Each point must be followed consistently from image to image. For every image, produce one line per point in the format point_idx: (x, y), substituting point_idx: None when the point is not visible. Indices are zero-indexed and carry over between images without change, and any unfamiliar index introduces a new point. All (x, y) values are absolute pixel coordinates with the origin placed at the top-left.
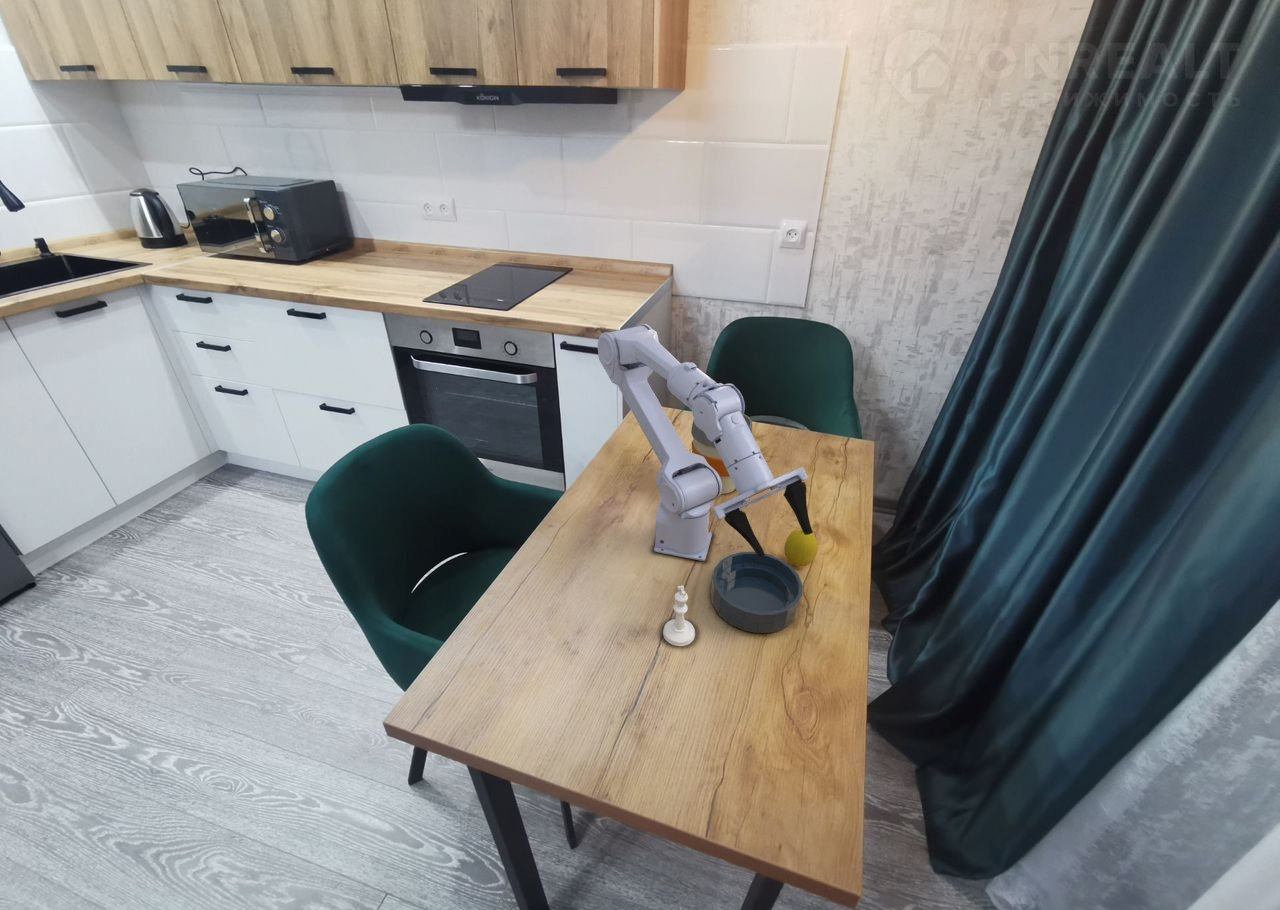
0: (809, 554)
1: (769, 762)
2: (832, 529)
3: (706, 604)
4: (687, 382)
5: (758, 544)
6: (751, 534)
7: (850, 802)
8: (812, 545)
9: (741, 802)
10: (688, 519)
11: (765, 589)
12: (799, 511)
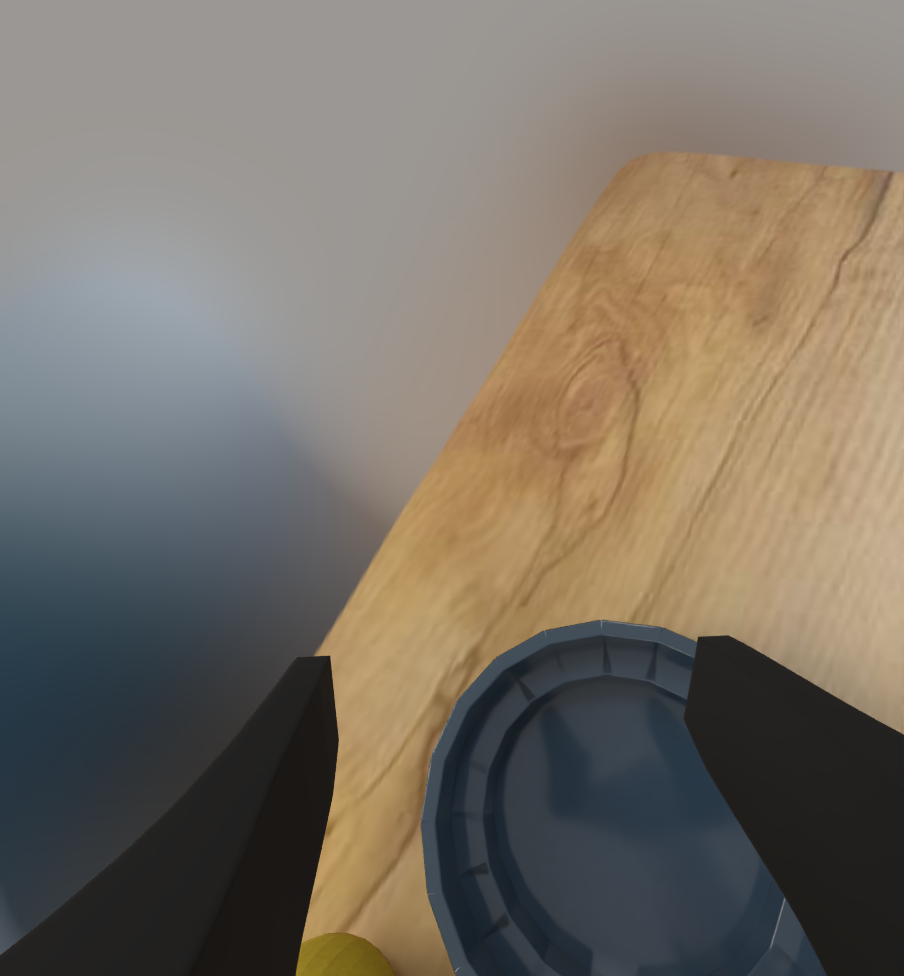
0: (312, 951)
1: (716, 294)
2: None
3: None
4: None
5: (773, 678)
6: (883, 754)
7: (572, 243)
8: None
9: (801, 224)
10: None
11: (558, 862)
12: (267, 818)
